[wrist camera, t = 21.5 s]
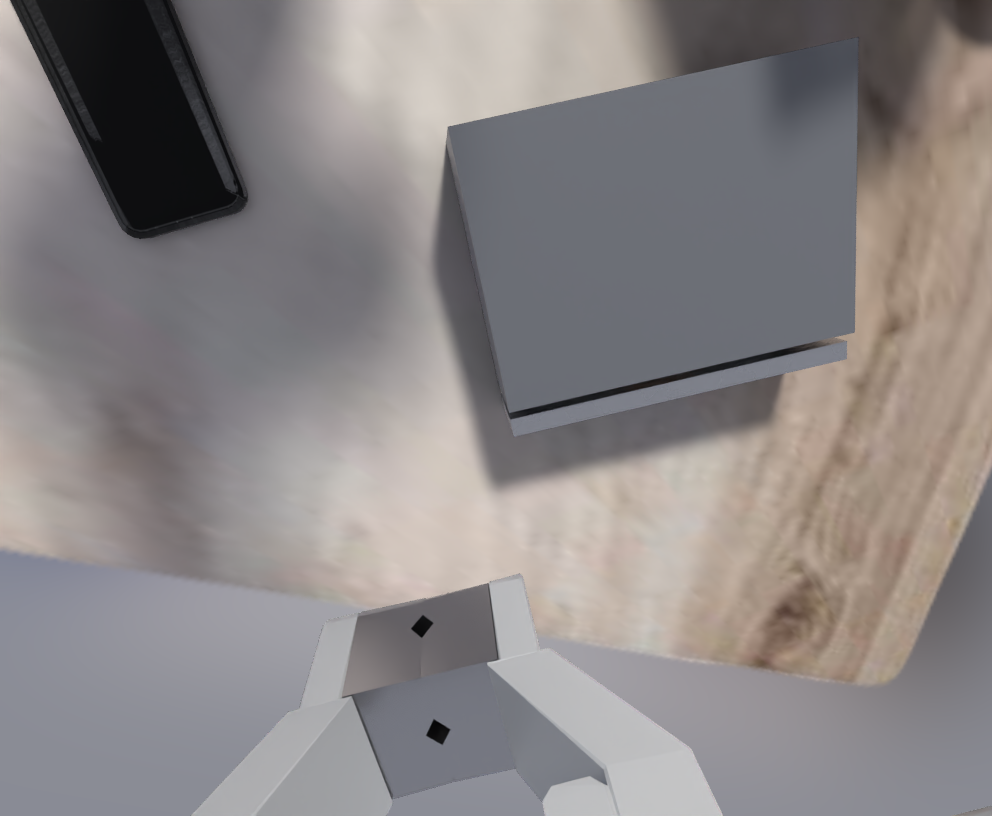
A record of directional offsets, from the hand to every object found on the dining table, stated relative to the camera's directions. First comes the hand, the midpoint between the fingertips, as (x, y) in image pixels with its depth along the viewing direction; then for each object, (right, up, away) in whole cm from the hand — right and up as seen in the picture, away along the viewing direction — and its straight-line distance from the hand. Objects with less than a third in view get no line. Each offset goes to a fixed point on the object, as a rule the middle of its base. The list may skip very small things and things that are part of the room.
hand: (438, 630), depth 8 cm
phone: (-20, +22, +24) cm, 38 cm away
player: (+10, +15, +29) cm, 34 cm away
